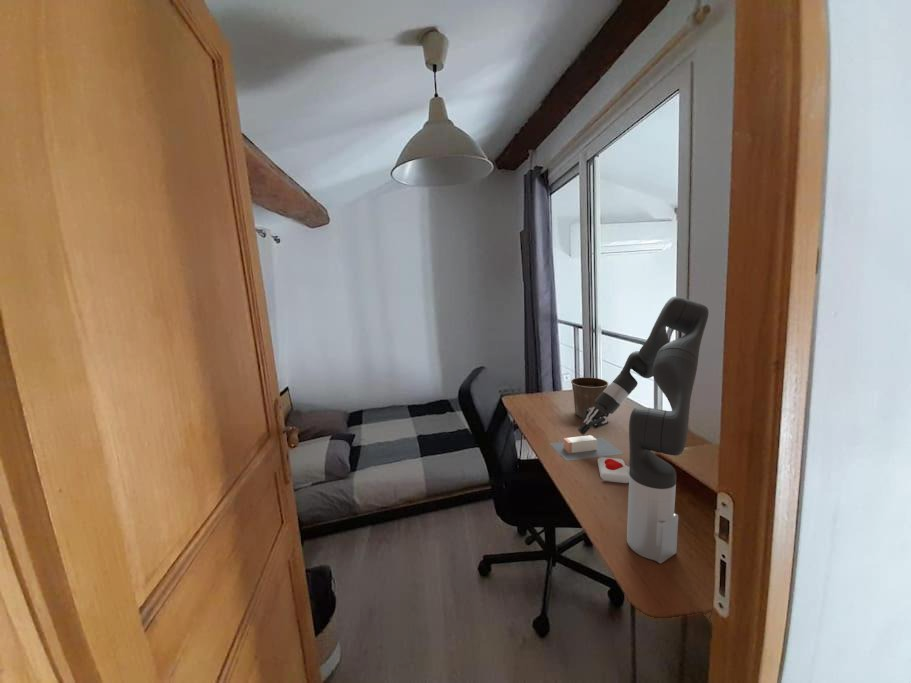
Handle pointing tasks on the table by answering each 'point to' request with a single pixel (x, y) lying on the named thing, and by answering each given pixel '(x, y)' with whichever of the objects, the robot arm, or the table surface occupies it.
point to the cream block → (580, 444)
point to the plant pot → (586, 392)
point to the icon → (613, 470)
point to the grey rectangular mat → (602, 450)
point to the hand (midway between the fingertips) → (580, 432)
